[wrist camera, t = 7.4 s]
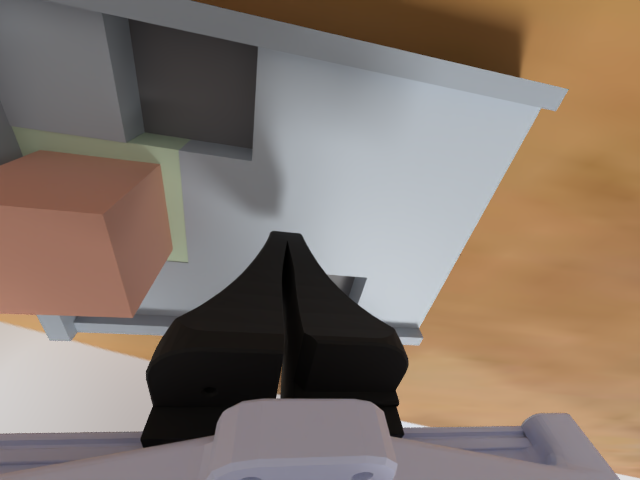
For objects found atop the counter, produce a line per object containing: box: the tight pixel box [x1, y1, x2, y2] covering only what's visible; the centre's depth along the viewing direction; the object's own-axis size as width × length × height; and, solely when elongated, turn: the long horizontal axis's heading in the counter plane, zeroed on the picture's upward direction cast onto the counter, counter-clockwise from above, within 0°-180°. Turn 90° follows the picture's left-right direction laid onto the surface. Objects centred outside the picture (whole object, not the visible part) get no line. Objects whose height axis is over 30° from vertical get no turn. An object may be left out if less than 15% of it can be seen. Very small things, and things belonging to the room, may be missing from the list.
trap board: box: [0, 0, 569, 345], centre depth 14 cm, size 16×22×3 cm
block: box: [0, 150, 173, 318], centre depth 11 cm, size 4×4×4 cm
